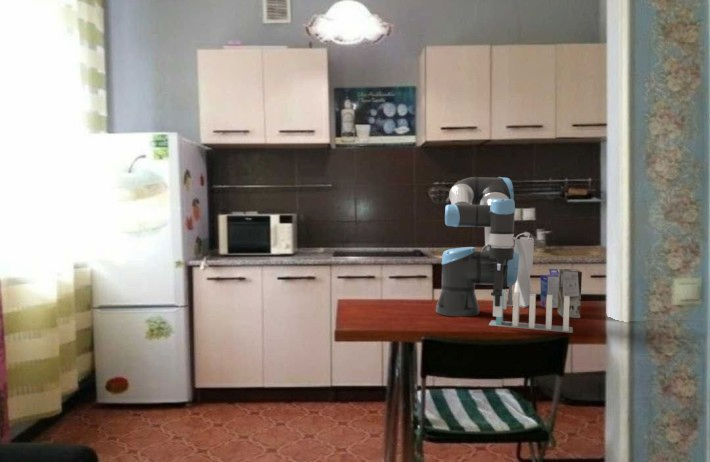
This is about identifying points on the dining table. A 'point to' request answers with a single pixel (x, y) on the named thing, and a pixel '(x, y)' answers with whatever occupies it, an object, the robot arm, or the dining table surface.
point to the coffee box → (570, 291)
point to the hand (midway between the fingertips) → (499, 312)
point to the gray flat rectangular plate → (526, 326)
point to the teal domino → (500, 319)
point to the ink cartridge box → (549, 288)
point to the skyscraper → (523, 271)
